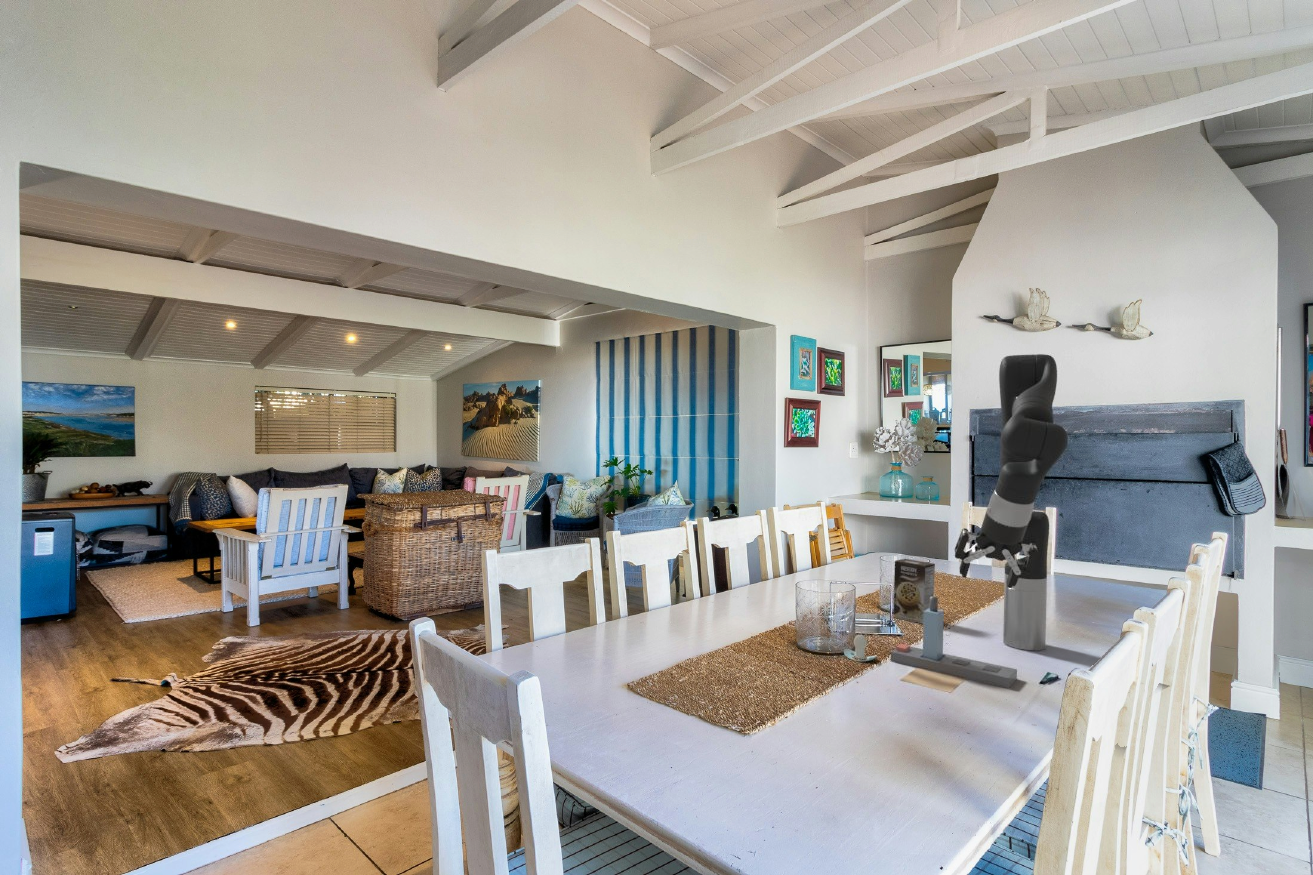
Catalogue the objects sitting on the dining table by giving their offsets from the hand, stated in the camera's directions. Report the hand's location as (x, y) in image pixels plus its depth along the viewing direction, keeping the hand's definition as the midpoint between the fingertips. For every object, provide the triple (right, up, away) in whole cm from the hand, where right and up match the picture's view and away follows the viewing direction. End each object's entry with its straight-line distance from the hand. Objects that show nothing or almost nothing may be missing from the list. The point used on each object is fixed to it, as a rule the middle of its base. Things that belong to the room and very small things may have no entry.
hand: (985, 580), depth 140 cm
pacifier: (-22, -22, +14) cm, 34 cm away
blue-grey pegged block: (-7, -21, +10) cm, 24 cm away
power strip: (-4, -22, +8) cm, 23 cm away
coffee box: (+5, -22, +52) cm, 56 cm away
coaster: (-10, -22, +2) cm, 24 cm away
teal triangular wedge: (+12, -23, +11) cm, 28 cm away
